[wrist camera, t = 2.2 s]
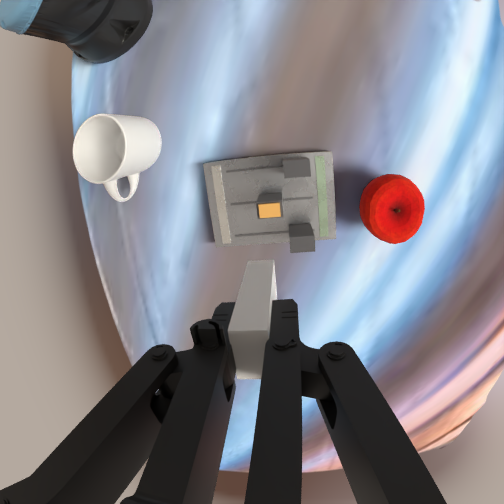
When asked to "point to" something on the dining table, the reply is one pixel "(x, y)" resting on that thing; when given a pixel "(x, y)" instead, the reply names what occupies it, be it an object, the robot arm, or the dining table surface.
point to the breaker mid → (269, 206)
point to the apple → (392, 208)
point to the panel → (267, 182)
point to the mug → (115, 150)
